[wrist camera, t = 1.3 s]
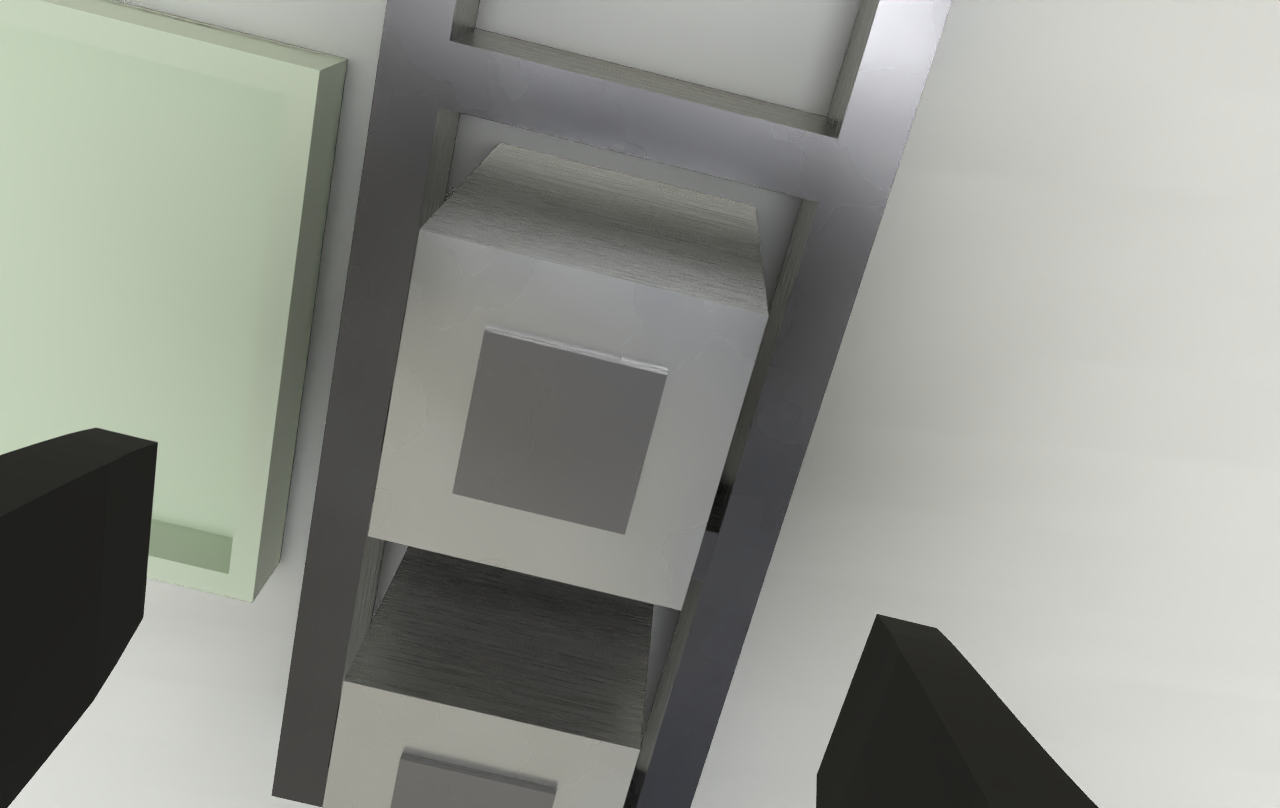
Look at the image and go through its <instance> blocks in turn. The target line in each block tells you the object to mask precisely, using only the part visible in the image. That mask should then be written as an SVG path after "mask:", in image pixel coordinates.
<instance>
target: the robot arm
mask: <svg viewBox="0 0 1280 808" xmlns="http://www.w3.org/2000/svg"><path fill="white" fill-rule="evenodd" d="M157 448H158V442H155V441H151V440H146V439H142V438H138V437H134V436H130V435H126V434H121V433H117V432H113V431H109V430H105V429H100V428H91V429H87V430H82V431H78V432H74V433H70V434H66V435H63V436H59V437H56V438H52V439H49V440H46V441H43V442H39V443H36V444H33V445H30V446H27V447H24V448H20V449H17V450H14V451H11V452H8V453H5V454H2V455H0V808H7V807H8V806H9V805H10V804H11V803H12V801H13V800H14V799H15V798H16V796H17V795H18V794H19V793H20V792H21V790H22V789H23V788H24V787H25V785H26V784H27V783H28V782H29V781H30V779H31V778H32V777H33V776H34V774H35V773H36V772H37V771H38V770H39V768H40V767H41V766H42V765H43V763H44V762H45V761H46V760H47V758H48V757H49V756H50V755H51V753H52V752H53V751H54V750H55V748H56V747H57V746H58V745H59V743H60V742H61V741H62V740H63V738H64V737H65V736H66V735H67V733H68V732H69V731H70V730H71V728H72V727H73V726H74V725H75V723H76V722H77V721H78V720H79V718H80V717H81V716H82V715H83V713H84V712H85V711H86V709H87V708H88V707H89V706H90V704H91V703H92V702H93V700H94V699H95V697H96V696H97V694H98V692H99V691H100V689H101V688H102V686H103V684H104V683H105V681H106V680H107V678H108V676H109V675H110V673H111V672H112V670H113V668H114V667H115V665H116V664H117V662H118V660H119V658H120V657H121V655H122V653H123V652H124V650H125V648H126V646H127V645H128V643H129V641H130V639H131V638H132V636H133V634H134V633H135V631H136V629H137V627H138V626H139V624H140V622H141V621H142V619H143V614H144V602H145V590H146V579H147V567H148V555H149V543H150V531H151V519H152V508H153V496H154V484H155V472H156V460H157ZM816 808H1098V807H1097V806H1096V805H1095V804H1094V803H1093V802H1092V801H1091V800H1090V799H1089V798H1088V797H1087V795H1086V794H1085V793H1084V792H1083V791H1082V790H1081V789H1080V788H1079V787H1078V786H1077V785H1076V784H1075V783H1074V782H1073V780H1072V779H1071V778H1070V777H1069V776H1068V775H1067V774H1066V773H1065V772H1064V771H1063V770H1062V769H1061V767H1060V766H1059V765H1058V764H1057V763H1056V762H1055V761H1054V760H1053V759H1052V758H1051V756H1050V755H1049V754H1048V753H1047V752H1046V751H1045V750H1044V749H1043V747H1042V746H1041V745H1040V744H1039V743H1038V742H1037V741H1036V740H1035V738H1034V737H1033V736H1032V735H1031V734H1030V733H1029V732H1028V730H1027V729H1026V728H1025V727H1024V726H1023V725H1022V724H1021V722H1020V721H1019V720H1018V719H1017V718H1016V717H1015V715H1014V714H1013V713H1012V712H1011V711H1010V710H1009V709H1008V707H1007V706H1006V705H1005V704H1004V703H1003V702H1002V700H1001V699H1000V698H999V697H998V696H997V695H996V693H995V692H994V691H993V690H992V689H991V688H990V686H989V685H988V684H987V683H986V682H985V681H984V679H983V678H982V677H981V676H980V675H979V674H978V672H977V671H976V670H975V669H974V668H973V667H972V665H971V664H970V663H969V662H968V661H967V660H966V659H965V657H964V656H963V655H962V654H961V653H960V652H959V651H958V650H957V648H956V647H955V646H954V645H953V644H952V643H951V642H950V641H949V640H948V639H947V638H946V637H945V636H944V635H943V634H942V633H941V632H940V631H939V630H938V629H937V628H934V627H929V626H925V625H921V624H917V623H913V622H908V621H904V620H900V619H896V618H892V617H887V616H883V615H879V614H877V615H876V618H875V621H874V623H873V626H872V629H871V631H870V634H869V637H868V639H867V642H866V645H865V647H864V650H863V653H862V655H861V658H860V661H859V663H858V666H857V669H856V671H855V674H854V677H853V679H852V682H851V685H850V687H849V690H848V693H847V696H846V698H845V701H844V704H843V706H842V709H841V712H840V714H839V717H838V720H837V722H836V725H835V728H834V730H833V733H832V736H831V738H830V741H829V744H828V746H827V749H826V752H825V754H824V757H823V760H822V762H821V765H820V768H819V770H818V773H817V796H816Z"/></svg>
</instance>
